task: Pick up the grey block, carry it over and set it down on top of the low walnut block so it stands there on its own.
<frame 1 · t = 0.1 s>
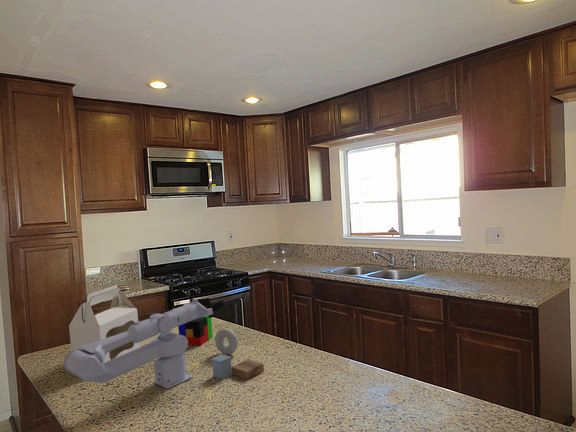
hand: (216, 301, 147), 22 cm above the countertop, tool horizontal, fingers open, 7 cm apart
walnut block: (248, 374, 135), on the countertop
gable box: (109, 361, 155), on the countertop
donut: (227, 355, 152), on the countertop
grey block: (222, 375, 134), on the countertop
puzzle toy: (196, 341, 171), on the countertop
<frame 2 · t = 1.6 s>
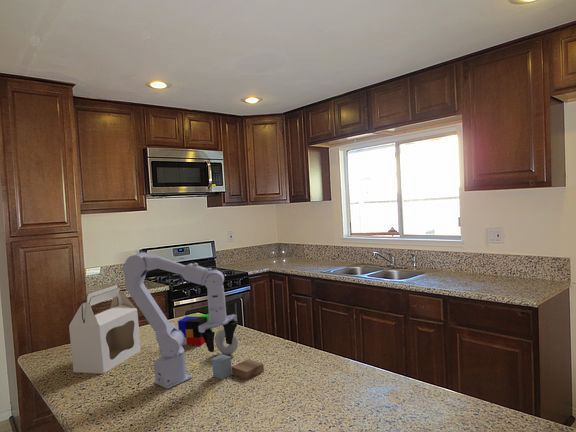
hand: (220, 347, 134), 9 cm above the countertop, tool pointing down, fingers open, 7 cm apart
nothing on the countertop moved.
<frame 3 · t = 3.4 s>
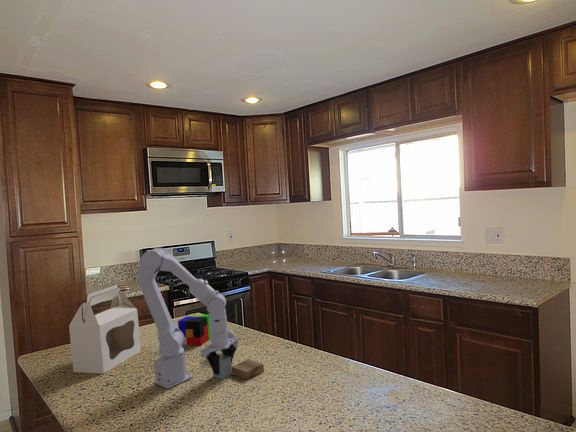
hand: (222, 371, 134), 1 cm above the countertop, tool pointing down, fingers closed on grey block, 4 cm apart
grey block: (222, 375, 134), on the countertop, touching gripper
everything else where it was.
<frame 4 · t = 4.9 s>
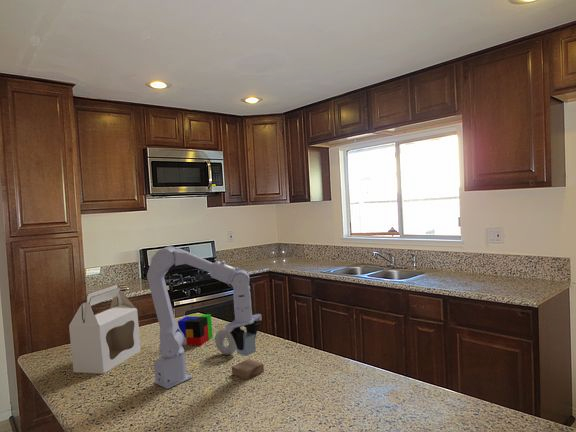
hand: (246, 346, 134), 9 cm above the countertop, tool pointing down, fingers closed on grey block, 4 cm apart
grey block: (246, 352, 134), point 7 cm above the countertop, touching gripper
everything else where it was.
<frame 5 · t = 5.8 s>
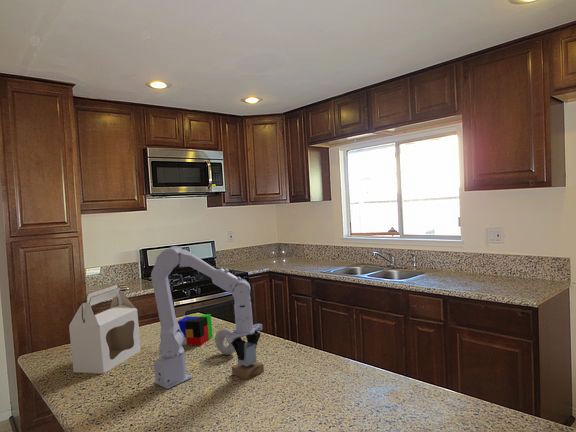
hand: (246, 356, 134), 5 cm above the countertop, tool pointing down, fingers closed on grey block, 4 cm apart
grey block: (247, 362, 134), point 4 cm above the countertop, touching gripper
everything else where it was.
when the fingers open (5 cm above the countertop, at t = 6.5 s): grey block moves 1 cm, resting on walnut block.
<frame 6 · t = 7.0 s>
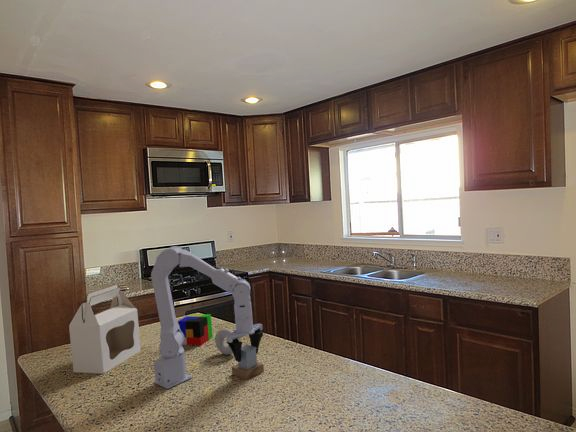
hand: (246, 356, 134), 5 cm above the countertop, tool pointing down, fingers open, 7 cm apart
walnut block: (248, 374, 135), on the countertop, touching grey block
grey block: (247, 365, 134), point 3 cm above the countertop, touching walnut block
everything else where it was.
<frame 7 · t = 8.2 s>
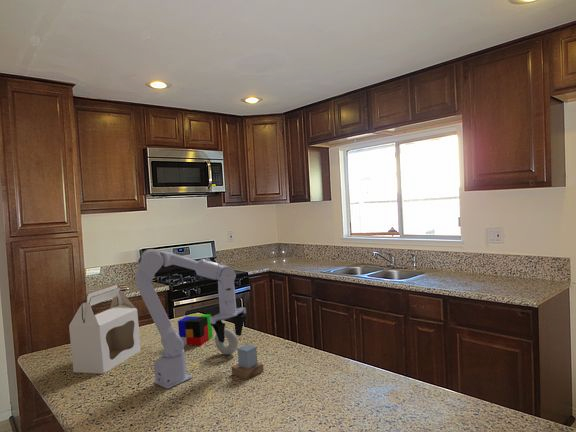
hand: (230, 338, 141), 10 cm above the countertop, tool pointing down, fingers open, 7 cm apart
walnut block: (247, 374, 135), on the countertop
grey block: (248, 365, 134), point 3 cm above the countertop
everything else where it was.
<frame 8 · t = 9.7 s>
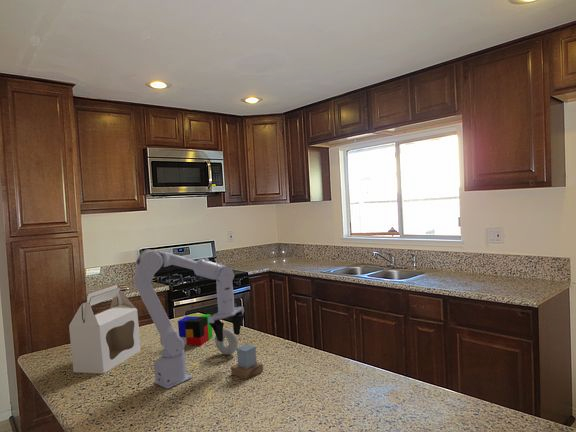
hand: (228, 337, 142), 10 cm above the countertop, tool pointing down, fingers open, 7 cm apart
walnut block: (247, 374, 135), on the countertop, touching grey block
grey block: (247, 365, 135), point 3 cm above the countertop, touching walnut block
everything else where it was.
at the end: grey block 0.2 cm off-centre on the walnut block, point 3.0 cm above the walnut block's base; grey block tilted 0°; the gripper is holding nothing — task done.
